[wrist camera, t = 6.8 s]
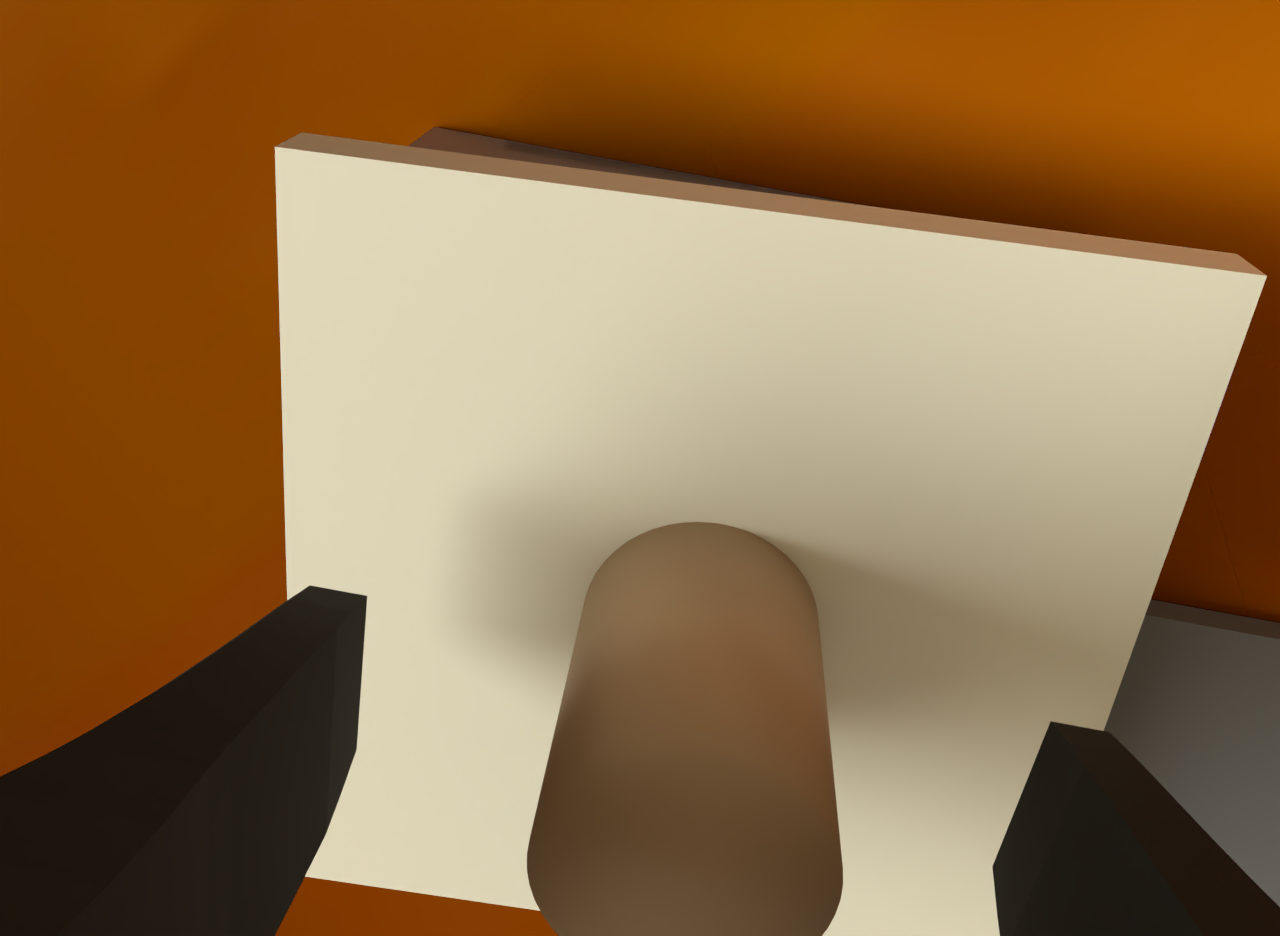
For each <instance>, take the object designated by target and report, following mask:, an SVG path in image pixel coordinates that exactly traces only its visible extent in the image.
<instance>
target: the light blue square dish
mask: <svg viewBox="0 0 1280 936" xmlns="http://www.w3.org/2000/svg"><path fill="white" fill-rule="evenodd" d="M409 147H417V148H425V149H433V150H440V151H448V152H456V153H463V154H471V155H479V156H486V157H494V158H502V159H510V160H517V161H525V162H533V163H540V164H548V165H556V166H564V167H571V168H579V169H587V170H594V171H602V172H610V173H618V174H625V175H633V176H641V177H648V178H656V179H664V180H671V181H679V182H687V183H695V184H702V185H710V186H718V187H725V188H733V189H741V190H749V191H756V192H764V193H772V194H779V195H787V196H795V197H802V198H810V199H818V200H826V201H833V202H841V203H849V202H843V201H838V200H832V199H827V198H821V197H816V196H810V195H805V194H800V193H794V192H789V191H783V190H778V189H772V188H767V187H761V186H756V185H750V184H745V183H739V182H734V181H728V180H723V179H717V178H712V177H706V176H701V175H695V174H690V173H684V172H679V171H673V170H668V169H663V168H657V167H652V166H646V165H641V164H635V163H630V162H624V161H619V160H613V159H608V158H602V157H597V156H591V155H586V154H580V153H575V152H569V151H564V150H558V149H553V148H547V147H542V146H536V145H531V144H526V143H520V142H515V141H509V140H504V139H498V138H493V137H487V136H482V135H476V134H471V133H465V132H460V131H454V130H449V129H443V128H438V127H433V128H432V129H431V130H429V131H428V132H427V133H425V134H424V135H422V136H421V137H420V138H418V139H417V140H416V141H414V142H413V143H412V144H410V145H409ZM849 204H854V203H849ZM856 205H860V204H856ZM864 206H865V205H864Z"/></svg>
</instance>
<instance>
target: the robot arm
mask: <svg viewBox="0 0 1280 936" xmlns="http://www.w3.org/2000/svg"><path fill="white" fill-rule="evenodd" d="M366 607H367V596H365V595H360V594H354V593H349V592H343V591H338V590H332V589H327V588H322V587H316V586H311V585H310V586H308V587H307V588H305V589H304V590H302V591H301V592H299V593H298V594H296V595H295V596H293V597H292V598H290V599H289V600H287V601H286V602H284V603H283V604H281V605H280V606H279V607H277V608H276V609H274V610H273V611H272V612H270V613H269V614H267V615H266V616H265V617H263V618H262V619H260V620H259V621H258V622H256V623H255V624H253V625H252V626H251V627H249V628H248V629H246V630H245V631H244V632H242V633H241V634H239V635H238V636H237V637H235V638H234V639H232V640H231V641H229V642H228V643H227V644H225V645H224V646H222V647H221V648H219V649H218V650H217V651H215V652H214V653H212V654H211V655H209V656H208V657H206V658H205V659H203V660H202V661H200V662H199V663H197V664H196V665H194V666H193V667H191V668H190V669H188V670H187V671H185V672H184V673H182V674H181V675H179V676H178V677H176V678H175V679H173V680H172V681H170V682H169V683H167V684H166V685H164V686H163V687H161V688H160V689H158V690H157V691H155V692H153V693H152V694H150V695H149V696H147V697H145V698H144V699H142V700H140V701H139V702H137V703H135V704H134V705H132V706H130V707H129V708H127V709H125V710H124V711H122V712H120V713H119V714H117V715H115V716H114V717H112V718H110V719H109V720H107V721H105V722H104V723H102V724H100V725H99V726H97V727H95V728H94V729H92V730H90V731H89V732H87V733H85V734H83V735H81V736H80V737H78V738H76V739H74V740H72V741H70V742H69V743H67V744H65V745H63V746H61V747H59V748H57V749H55V750H53V751H51V752H50V753H48V754H46V755H44V756H42V757H40V758H38V759H36V760H34V761H32V762H29V763H27V764H25V765H23V766H21V767H19V768H17V769H15V770H13V771H11V772H9V773H7V774H5V775H3V776H1V777H0V936H275V934H276V932H277V930H278V928H279V926H280V924H281V922H282V920H283V918H284V916H285V914H286V912H287V911H288V909H289V907H290V905H291V903H292V901H293V899H294V897H295V895H296V893H297V891H298V889H299V887H300V885H301V883H302V881H303V879H304V877H305V875H306V873H307V871H308V869H309V867H310V865H311V863H312V861H313V859H314V857H315V855H316V853H317V851H318V849H319V847H320V845H321V843H322V841H323V839H324V837H325V835H326V833H327V830H328V827H329V825H330V822H331V819H332V817H333V814H334V811H335V809H336V806H337V803H338V801H339V798H340V795H341V793H342V790H343V787H344V784H345V781H346V778H347V776H348V773H349V770H350V767H351V764H352V761H353V759H354V756H355V753H356V750H357V737H358V723H359V708H360V694H361V679H362V665H363V650H364V636H365V621H366ZM992 868H993V878H994V888H995V898H996V908H997V917H998V925H999V933H1000V936H1280V907H1279V906H1278V905H1277V904H1276V903H1275V902H1274V901H1273V900H1272V899H1271V898H1270V897H1269V896H1268V895H1267V894H1266V893H1265V892H1264V891H1263V890H1262V889H1261V888H1260V887H1259V886H1258V885H1257V884H1256V883H1255V882H1254V881H1253V880H1252V879H1251V878H1250V877H1249V876H1248V875H1247V874H1246V873H1245V872H1244V871H1243V870H1242V869H1241V868H1240V867H1239V866H1238V865H1237V864H1236V862H1235V861H1234V860H1233V859H1232V858H1231V857H1230V856H1229V855H1228V854H1227V853H1226V852H1225V851H1224V850H1223V849H1222V848H1221V847H1220V846H1219V845H1218V844H1217V843H1216V842H1215V841H1214V840H1213V839H1212V838H1211V837H1210V835H1209V834H1208V833H1207V832H1206V831H1205V830H1204V829H1203V828H1202V827H1201V826H1200V825H1199V824H1198V823H1197V822H1196V821H1195V820H1194V819H1193V818H1192V816H1191V815H1190V814H1189V813H1188V812H1187V811H1186V810H1185V809H1184V808H1183V807H1182V806H1181V805H1180V804H1179V803H1178V802H1177V801H1176V800H1175V798H1174V797H1173V796H1172V795H1171V794H1170V793H1169V792H1168V791H1167V790H1166V789H1165V788H1164V787H1163V786H1162V785H1161V784H1160V783H1159V782H1158V780H1157V779H1156V778H1155V777H1154V776H1153V775H1152V774H1151V773H1150V772H1149V771H1148V770H1147V769H1146V768H1145V767H1144V766H1143V765H1142V764H1141V763H1140V762H1139V761H1138V760H1137V759H1136V758H1135V757H1134V756H1133V755H1132V754H1131V753H1130V752H1129V751H1128V750H1127V749H1126V748H1125V747H1124V746H1123V745H1122V744H1121V743H1120V742H1119V741H1118V740H1117V739H1116V738H1115V737H1114V736H1113V735H1112V734H1111V733H1109V732H1107V731H1101V730H1096V729H1090V728H1085V727H1079V726H1074V725H1068V724H1063V723H1058V722H1052V721H1050V724H1049V726H1048V729H1047V731H1046V734H1045V736H1044V739H1043V741H1042V744H1041V746H1040V749H1039V751H1038V754H1037V756H1036V759H1035V761H1034V764H1033V766H1032V769H1031V771H1030V774H1029V776H1028V779H1027V781H1026V784H1025V786H1024V789H1023V791H1022V794H1021V796H1020V799H1019V801H1018V804H1017V806H1016V809H1015V811H1014V814H1013V816H1012V819H1011V821H1010V824H1009V826H1008V829H1007V831H1006V834H1005V836H1004V839H1003V841H1002V844H1001V846H1000V849H999V851H998V854H997V856H996V859H995V861H994V864H993V866H992Z"/></svg>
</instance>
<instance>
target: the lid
mask: <svg viewBox="0 0 1280 936" xmlns="http://www.w3.org/2000/svg"><path fill="white" fill-rule="evenodd" d="M275 168H276V205H277V241H278V278H279V315H280V351H281V388H282V425H283V461H284V498H285V535H286V572H287V600H289V599H290V598H292V597H293V596H295V595H296V594H298V593H299V592H301V591H302V590H304V589H305V588H307V587H308V586H310V585H311V586H316V587H322V588H327V589H332V590H338V591H343V592H349V593H354V594H360V595H365V596H367V607H366V621H365V636H364V650H363V665H362V679H361V694H360V708H359V723H358V737H357V750H356V753H355V756H354V759H353V761H352V764H351V767H350V770H349V773H348V776H347V778H346V781H345V784H344V787H343V790H342V793H341V795H340V798H339V801H338V803H337V806H336V809H335V811H334V814H333V817H332V819H331V822H330V825H329V827H328V830H327V833H326V835H325V837H324V839H323V841H322V843H321V845H320V847H319V849H318V851H317V853H316V855H315V857H314V859H313V861H312V863H311V865H310V867H309V869H308V871H307V873H306V875H305V876H306V877H313V878H319V879H326V880H333V881H340V882H347V883H354V884H361V885H367V886H374V887H381V888H388V889H395V890H402V891H409V892H416V893H422V894H429V895H436V896H443V897H450V898H457V899H464V900H470V901H477V902H484V903H491V904H498V905H505V906H512V907H518V908H525V909H532V910H539V911H541V913H542V915H543V916H544V918H545V919H546V920H547V922H548V923H549V925H550V926H551V927H552V929H553V930H554V931H555V932H556V933H557V934H558V935H559V936H1000V933H999V925H998V917H997V908H996V898H995V888H994V878H993V868H992V866H993V864H994V861H995V859H996V856H997V854H998V851H999V849H1000V846H1001V844H1002V841H1003V839H1004V836H1005V834H1006V831H1007V829H1008V826H1009V824H1010V821H1011V819H1012V816H1013V814H1014V811H1015V809H1016V806H1017V804H1018V801H1019V799H1020V796H1021V794H1022V791H1023V789H1024V786H1025V784H1026V781H1027V779H1028V776H1029V774H1030V771H1031V769H1032V766H1033V764H1034V761H1035V759H1036V756H1037V754H1038V751H1039V749H1040V746H1041V744H1042V741H1043V739H1044V736H1045V734H1046V731H1047V729H1048V726H1049V724H1050V721H1052V722H1058V723H1063V724H1068V725H1074V726H1079V727H1085V728H1090V729H1096V730H1101V731H1104V728H1105V725H1106V723H1107V720H1108V717H1109V714H1110V711H1111V709H1112V706H1113V703H1114V700H1115V698H1116V695H1117V692H1118V689H1119V686H1120V684H1121V681H1122V678H1123V675H1124V673H1125V670H1126V667H1127V664H1128V661H1129V659H1130V656H1131V653H1132V650H1133V647H1134V645H1135V642H1136V639H1137V636H1138V634H1139V631H1140V628H1141V625H1142V622H1143V620H1144V617H1145V614H1146V611H1147V609H1148V606H1149V603H1150V600H1151V597H1152V595H1153V592H1154V589H1155V586H1156V583H1157V581H1158V578H1159V575H1160V572H1161V570H1162V567H1163V564H1164V561H1165V558H1166V556H1167V553H1168V550H1169V547H1170V545H1171V542H1172V539H1173V536H1174V533H1175V531H1176V528H1177V525H1178V522H1179V520H1180V517H1181V514H1182V511H1183V508H1184V506H1185V503H1186V500H1187V497H1188V494H1189V492H1190V489H1191V486H1192V483H1193V481H1194V478H1195V475H1196V472H1197V469H1198V467H1199V464H1200V461H1201V458H1202V456H1203V453H1204V450H1205V447H1206V444H1207V442H1208V439H1209V436H1210V433H1211V430H1212V428H1213V425H1214V422H1215V419H1216V417H1217V414H1218V411H1219V408H1220V405H1221V403H1222V400H1223V397H1224V394H1225V392H1226V389H1227V386H1228V383H1229V380H1230V378H1231V375H1232V372H1233V369H1234V366H1235V364H1236V361H1237V358H1238V355H1239V353H1240V350H1241V347H1242V344H1243V341H1244V339H1245V336H1246V333H1247V330H1248V328H1249V325H1250V322H1251V319H1252V316H1253V314H1254V311H1255V308H1256V305H1257V303H1258V300H1259V297H1260V294H1261V291H1262V289H1263V286H1264V283H1265V280H1266V277H1267V275H1265V274H1264V273H1262V272H1261V271H1260V270H1258V269H1257V268H1256V267H1254V266H1253V265H1251V264H1250V263H1249V262H1247V261H1246V260H1245V259H1243V258H1242V257H1241V256H1239V255H1238V254H1234V253H1226V252H1219V251H1211V250H1203V249H1196V248H1188V247H1180V246H1172V245H1165V244H1157V243H1149V242H1142V241H1134V240H1126V239H1119V238H1111V237H1103V236H1095V235H1088V234H1080V233H1072V232H1065V231H1057V230H1049V229H1041V228H1034V227H1026V226H1018V225H1011V224H1003V223H995V222H987V221H980V220H972V219H964V218H957V217H949V216H941V215H934V214H926V213H918V212H910V211H903V210H895V209H887V208H880V207H872V206H864V205H856V204H849V203H841V202H833V201H826V200H818V199H810V198H802V197H795V196H787V195H779V194H772V193H764V192H756V191H749V190H741V189H733V188H725V187H718V186H710V185H702V184H695V183H687V182H679V181H671V180H664V179H656V178H648V177H641V176H633V175H625V174H618V173H610V172H602V171H594V170H587V169H579V168H571V167H564V166H556V165H548V164H540V163H533V162H525V161H517V160H510V159H502V158H494V157H486V156H479V155H471V154H463V153H456V152H448V151H440V150H433V149H425V148H417V147H409V146H402V145H394V144H386V143H379V142H371V141H363V140H355V139H348V138H340V137H332V136H325V135H317V134H309V133H300V134H298V135H296V136H294V137H292V138H291V139H289V140H287V141H285V142H283V143H281V144H279V145H277V146H275Z"/></svg>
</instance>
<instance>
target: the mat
mask: <svg viewBox="0 0 1280 936" xmlns="http://www.w3.org/2000/svg"><path fill="white" fill-rule="evenodd" d="M1104 731H1107V732H1109V733H1111V734H1112V735H1113V736H1114V737H1115V738H1116V739H1117V740H1118V741H1119V742H1120V743H1121V744H1122V745H1123V746H1124V747H1125V748H1126V749H1127V750H1128V751H1129V752H1130V753H1131V754H1132V755H1133V756H1134V757H1135V758H1136V759H1137V760H1138V761H1139V762H1140V763H1141V764H1142V765H1143V766H1144V767H1145V768H1146V769H1147V770H1148V771H1149V772H1150V773H1151V774H1152V775H1153V776H1154V777H1155V778H1156V779H1157V780H1158V782H1159V783H1160V784H1161V785H1162V786H1163V787H1164V788H1165V789H1166V790H1167V791H1168V792H1169V793H1170V794H1171V795H1172V796H1173V797H1174V798H1175V800H1176V801H1177V802H1178V803H1179V804H1180V805H1181V806H1182V807H1183V808H1184V809H1185V810H1186V811H1187V812H1188V813H1189V814H1190V815H1191V816H1192V818H1193V819H1194V820H1195V821H1196V822H1197V823H1198V824H1199V825H1200V826H1201V827H1202V828H1203V829H1204V830H1205V831H1206V832H1207V833H1208V834H1209V835H1210V837H1211V838H1212V839H1213V840H1214V841H1215V842H1216V843H1217V844H1218V845H1219V846H1220V847H1221V848H1222V849H1223V850H1224V851H1225V852H1226V853H1227V854H1228V855H1229V856H1230V857H1231V858H1232V859H1233V860H1234V861H1235V862H1236V864H1237V865H1238V866H1239V867H1240V868H1241V869H1242V870H1243V871H1244V872H1245V873H1246V874H1247V875H1248V876H1249V877H1250V878H1251V879H1252V880H1253V881H1254V882H1255V883H1256V884H1257V885H1258V886H1259V887H1260V888H1261V889H1262V890H1263V891H1264V892H1265V893H1266V894H1267V895H1268V896H1269V897H1270V898H1271V899H1272V900H1273V901H1274V902H1275V903H1276V904H1277V905H1278V906H1279V907H1280V623H1277V622H1271V621H1266V620H1260V619H1255V618H1249V617H1244V616H1238V615H1233V614H1227V613H1222V612H1217V611H1211V610H1206V609H1200V608H1195V607H1189V606H1184V605H1178V604H1173V603H1167V602H1162V601H1156V600H1150V603H1149V606H1148V609H1147V611H1146V614H1145V617H1144V620H1143V622H1142V625H1141V628H1140V631H1139V634H1138V636H1137V639H1136V642H1135V645H1134V647H1133V650H1132V653H1131V656H1130V659H1129V661H1128V664H1127V667H1126V670H1125V673H1124V675H1123V678H1122V681H1121V684H1120V686H1119V689H1118V692H1117V695H1116V698H1115V700H1114V703H1113V706H1112V709H1111V711H1110V714H1109V717H1108V720H1107V723H1106V725H1105V728H1104Z"/></svg>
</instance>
